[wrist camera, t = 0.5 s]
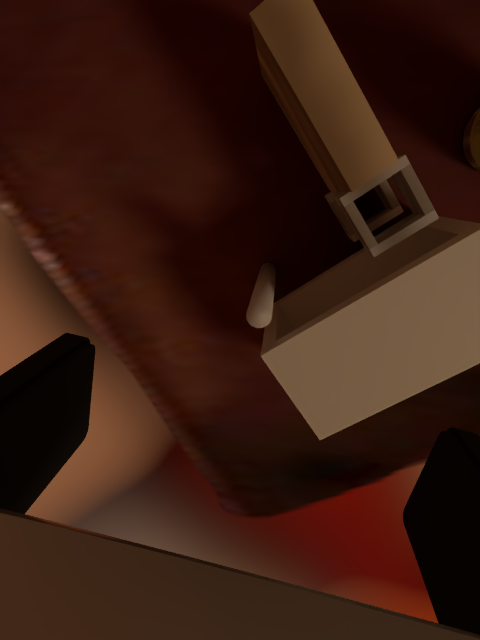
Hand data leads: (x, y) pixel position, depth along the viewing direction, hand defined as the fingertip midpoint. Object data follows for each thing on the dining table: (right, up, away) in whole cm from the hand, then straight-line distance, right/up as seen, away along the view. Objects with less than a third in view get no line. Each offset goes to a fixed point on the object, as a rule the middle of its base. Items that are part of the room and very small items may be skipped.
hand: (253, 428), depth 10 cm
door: (+7, +18, +23) cm, 30 cm away
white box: (+10, +7, +26) cm, 29 cm away
